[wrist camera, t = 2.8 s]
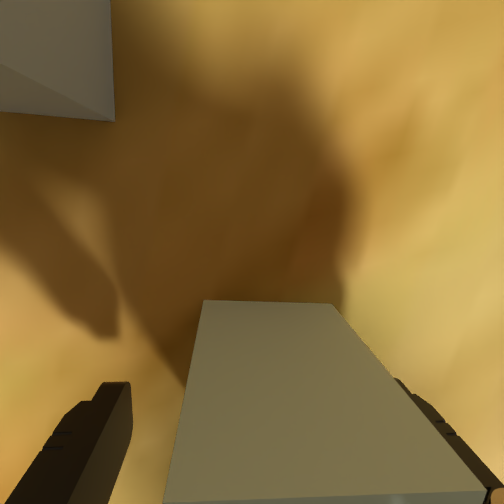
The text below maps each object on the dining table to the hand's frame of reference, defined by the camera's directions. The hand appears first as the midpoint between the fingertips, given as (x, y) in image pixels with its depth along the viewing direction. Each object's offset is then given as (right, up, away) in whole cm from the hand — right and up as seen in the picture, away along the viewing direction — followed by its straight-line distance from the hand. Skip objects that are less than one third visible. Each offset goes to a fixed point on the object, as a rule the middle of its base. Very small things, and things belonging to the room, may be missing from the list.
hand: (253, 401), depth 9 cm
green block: (0, +1, +2) cm, 2 cm away
